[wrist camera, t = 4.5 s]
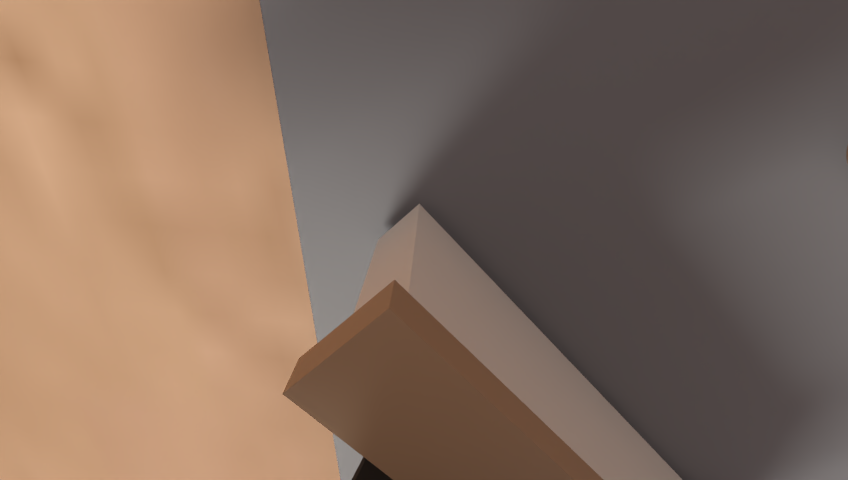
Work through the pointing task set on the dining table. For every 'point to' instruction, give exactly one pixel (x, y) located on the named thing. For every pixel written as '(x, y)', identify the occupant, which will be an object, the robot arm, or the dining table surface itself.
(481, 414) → the gate
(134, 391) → the dining table surface
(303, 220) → the grey plate with bar
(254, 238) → the dining table surface
